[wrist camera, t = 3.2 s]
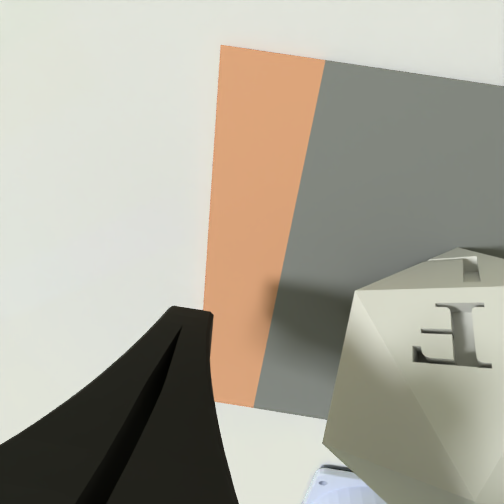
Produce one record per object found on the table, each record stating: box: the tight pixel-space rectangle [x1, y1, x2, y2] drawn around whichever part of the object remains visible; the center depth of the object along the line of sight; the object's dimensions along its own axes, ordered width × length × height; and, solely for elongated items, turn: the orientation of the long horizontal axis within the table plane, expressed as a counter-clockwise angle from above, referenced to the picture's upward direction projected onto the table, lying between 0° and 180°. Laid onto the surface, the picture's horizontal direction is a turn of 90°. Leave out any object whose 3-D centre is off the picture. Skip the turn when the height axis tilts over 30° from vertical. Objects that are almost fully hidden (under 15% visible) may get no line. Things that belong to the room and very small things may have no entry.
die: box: [322, 248, 504, 504], centre depth 10 cm, size 8×9×10 cm
